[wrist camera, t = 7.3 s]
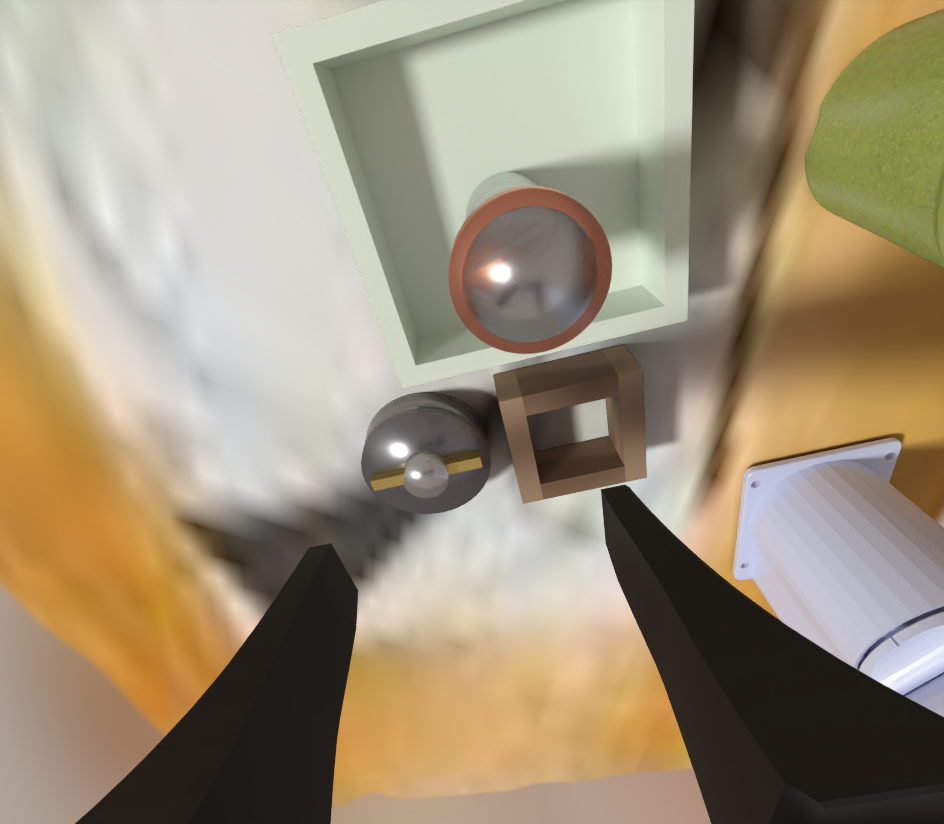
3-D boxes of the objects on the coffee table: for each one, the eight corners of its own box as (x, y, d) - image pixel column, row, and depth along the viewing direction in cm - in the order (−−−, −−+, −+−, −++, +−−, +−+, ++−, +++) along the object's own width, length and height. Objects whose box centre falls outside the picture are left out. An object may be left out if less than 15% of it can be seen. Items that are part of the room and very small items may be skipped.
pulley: (497, 475, 25) (503, 514, 22) (389, 499, 25) (384, 539, 23) (472, 379, 22) (475, 412, 19) (348, 409, 22) (337, 444, 20)
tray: (655, 294, 20) (687, 320, 17) (406, 354, 21) (401, 388, 18) (649, -58, 14) (696, -95, 11) (299, 47, 15) (271, 34, 12)
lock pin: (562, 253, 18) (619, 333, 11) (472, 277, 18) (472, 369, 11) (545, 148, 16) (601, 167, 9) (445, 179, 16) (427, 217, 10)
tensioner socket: (629, 447, 24) (646, 477, 22) (516, 471, 25) (523, 503, 23) (623, 344, 21) (642, 368, 19) (493, 374, 21) (498, 402, 19)
